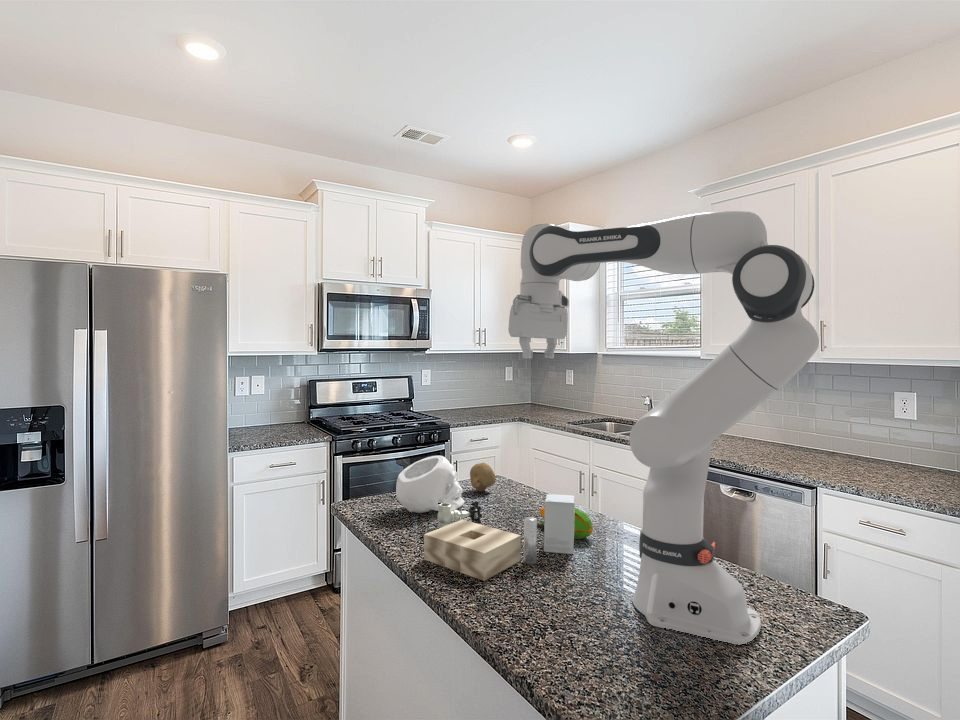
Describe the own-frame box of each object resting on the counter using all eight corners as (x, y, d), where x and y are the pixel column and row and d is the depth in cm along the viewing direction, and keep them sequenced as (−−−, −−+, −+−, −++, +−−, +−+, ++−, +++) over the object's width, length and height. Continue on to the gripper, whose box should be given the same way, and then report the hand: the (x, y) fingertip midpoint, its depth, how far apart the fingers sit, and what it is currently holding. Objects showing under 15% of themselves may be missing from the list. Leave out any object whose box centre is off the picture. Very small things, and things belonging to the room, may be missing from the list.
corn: (580, 516, 133) (529, 497, 149) (578, 546, 133) (528, 523, 149) (600, 513, 137) (549, 495, 154) (598, 542, 137) (547, 521, 153)
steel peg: (538, 561, 123) (539, 519, 123) (532, 565, 120) (532, 522, 120) (528, 558, 125) (528, 516, 125) (521, 561, 122) (521, 519, 122)
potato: (497, 488, 187) (497, 461, 187) (493, 495, 178) (493, 466, 178) (472, 487, 188) (472, 459, 188) (467, 493, 180) (467, 465, 180)
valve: (441, 533, 141) (482, 528, 146) (441, 508, 141) (482, 504, 146) (434, 525, 148) (473, 520, 152) (434, 502, 147) (473, 498, 152)
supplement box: (573, 554, 127) (574, 503, 127) (543, 552, 129) (543, 501, 128) (574, 543, 134) (575, 495, 134) (545, 541, 136) (546, 493, 136)
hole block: (520, 560, 123) (520, 535, 123) (484, 580, 112) (484, 553, 112) (462, 542, 134) (462, 519, 134) (423, 559, 123) (424, 534, 123)
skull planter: (480, 503, 162) (455, 451, 157) (427, 543, 153) (399, 490, 149) (459, 492, 174) (435, 444, 169) (409, 529, 165) (383, 479, 161)
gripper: (526, 292, 109) (525, 358, 109) (572, 300, 125) (571, 358, 126) (501, 294, 113) (501, 358, 113) (549, 301, 129) (549, 357, 129)
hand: (538, 358), depth 120 cm, fingers open, 8 cm apart
